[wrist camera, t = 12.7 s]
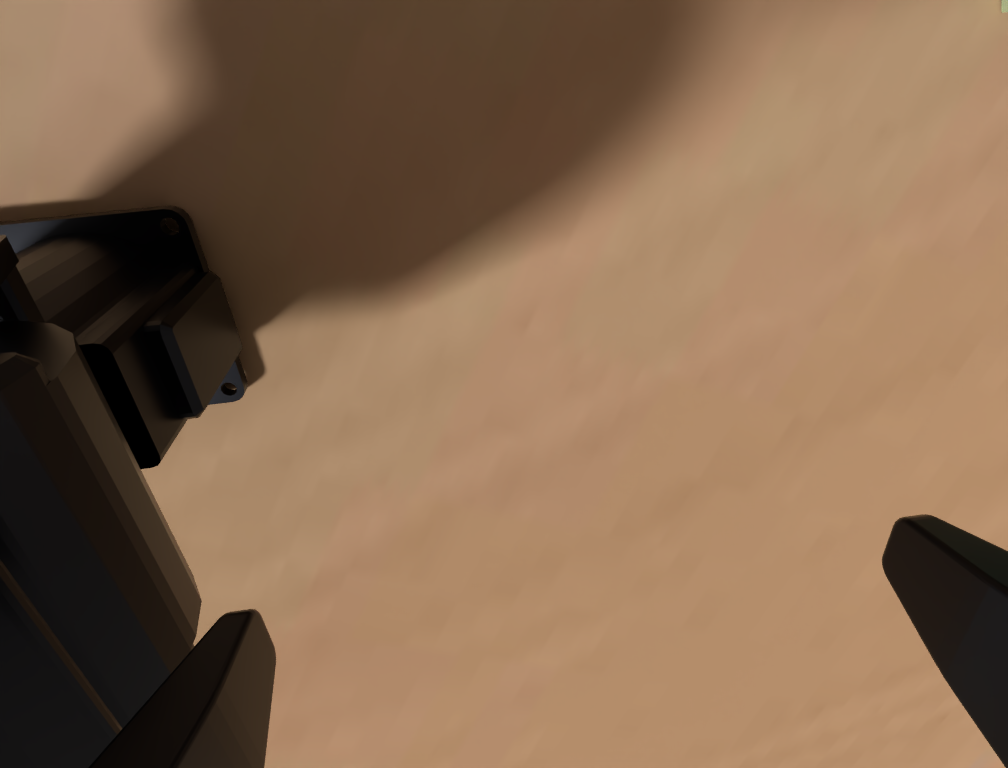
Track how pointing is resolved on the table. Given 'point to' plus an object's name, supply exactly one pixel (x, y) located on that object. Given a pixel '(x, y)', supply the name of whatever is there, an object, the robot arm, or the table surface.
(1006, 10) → the pad
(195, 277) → the robot arm
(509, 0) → the table surface
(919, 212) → the table surface
